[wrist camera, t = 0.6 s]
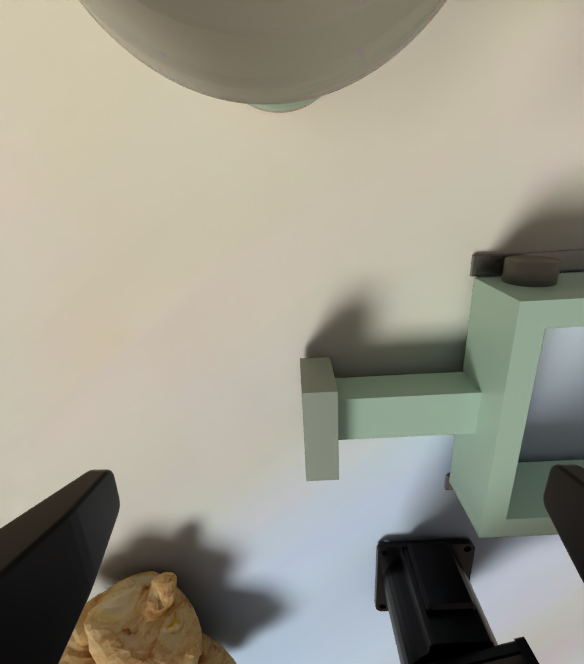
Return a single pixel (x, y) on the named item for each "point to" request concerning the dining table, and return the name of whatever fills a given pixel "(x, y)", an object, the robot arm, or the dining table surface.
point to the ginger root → (142, 626)
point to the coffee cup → (264, 43)
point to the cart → (462, 399)
